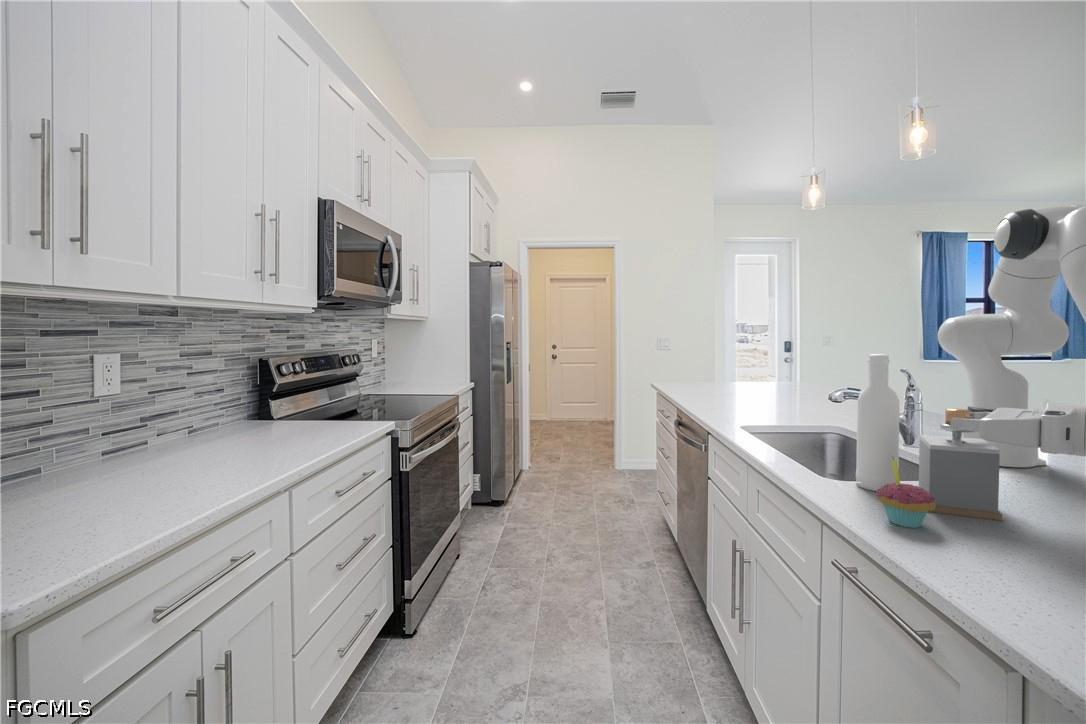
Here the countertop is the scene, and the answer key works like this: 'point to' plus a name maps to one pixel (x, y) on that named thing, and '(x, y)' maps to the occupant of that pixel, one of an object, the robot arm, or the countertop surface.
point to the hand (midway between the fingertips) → (956, 418)
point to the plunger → (956, 432)
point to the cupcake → (905, 502)
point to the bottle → (877, 428)
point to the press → (960, 476)
